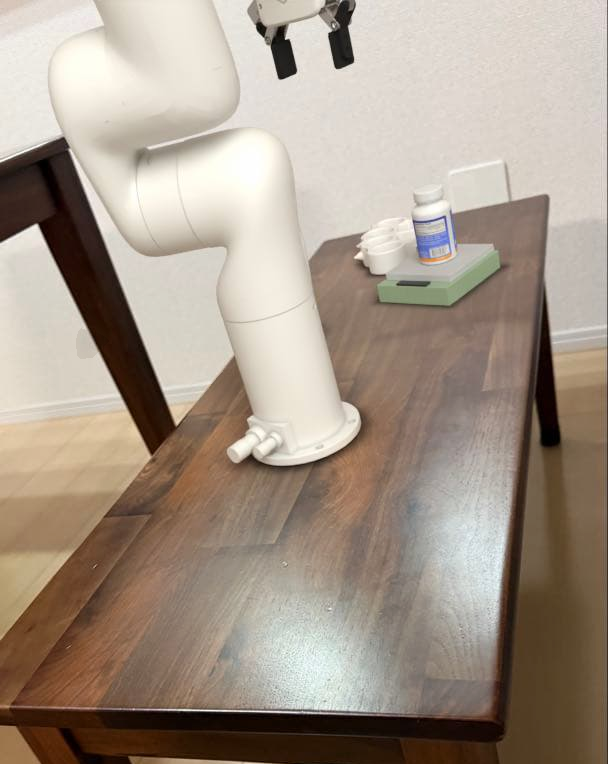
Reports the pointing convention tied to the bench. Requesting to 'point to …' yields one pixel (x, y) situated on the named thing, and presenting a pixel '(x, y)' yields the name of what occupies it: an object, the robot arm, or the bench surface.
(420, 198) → the pill bottle
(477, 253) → the scale
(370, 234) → the white compartment tray
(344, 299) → the bench surface
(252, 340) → the robot arm
